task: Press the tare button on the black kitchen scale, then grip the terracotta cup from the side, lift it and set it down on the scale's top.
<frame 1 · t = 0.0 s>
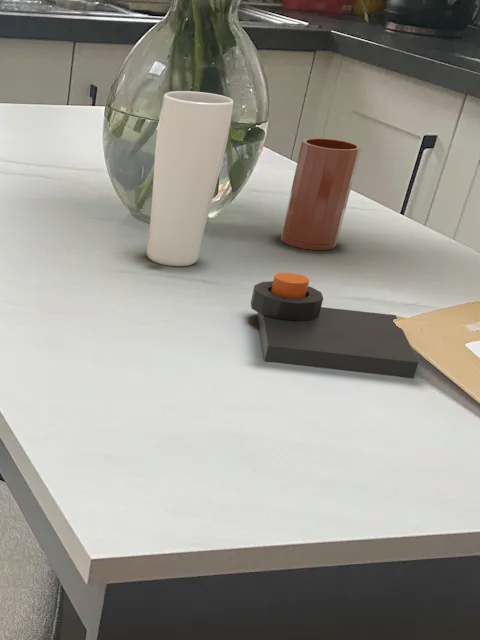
tare button: (289, 286, 94), point 3 cm above the countertop, slide at 0.1 cm
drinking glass: (171, 262, 110), on the countertop
cup: (308, 242, 119), on the countertop
scale: (330, 345, 92), on the countertop
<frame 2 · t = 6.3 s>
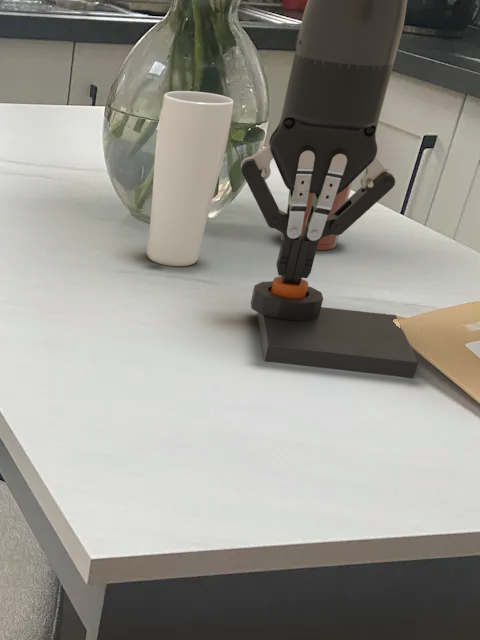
hand: (290, 281, 93), 4 cm above the countertop, tool pointing down, fingers closed
tare button: (289, 290, 94), point 3 cm above the countertop, slide at -0.2 cm, touching gripper
everything else where it was.
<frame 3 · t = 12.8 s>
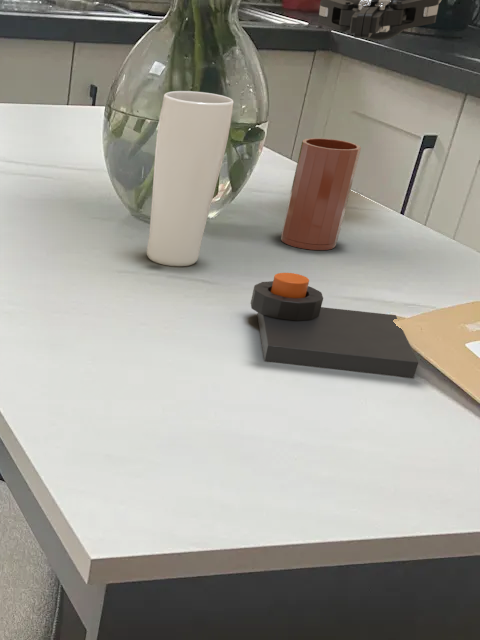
hand: (363, 26, 110), 20 cm above the countertop, tool horizontal, fingers closed
tare button: (289, 286, 94), point 3 cm above the countertop, slide at 0.1 cm
everything else where it was.
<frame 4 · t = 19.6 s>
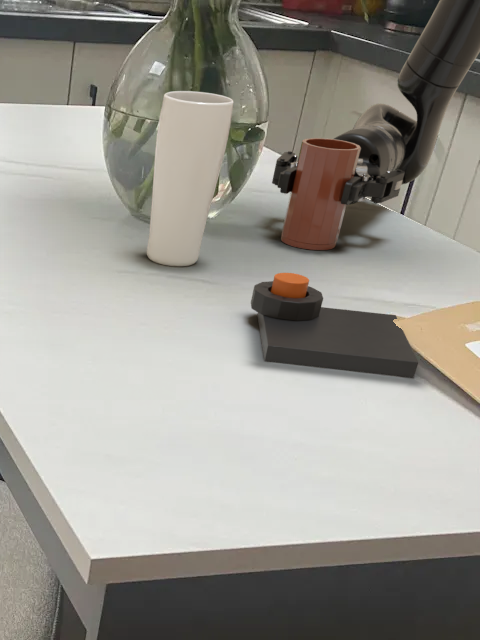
hand: (315, 188, 114), 6 cm above the countertop, tool horizontal, fingers closed on cup, 6 cm apart
cup: (308, 242, 119), on the countertop, touching gripper
everything else where it was.
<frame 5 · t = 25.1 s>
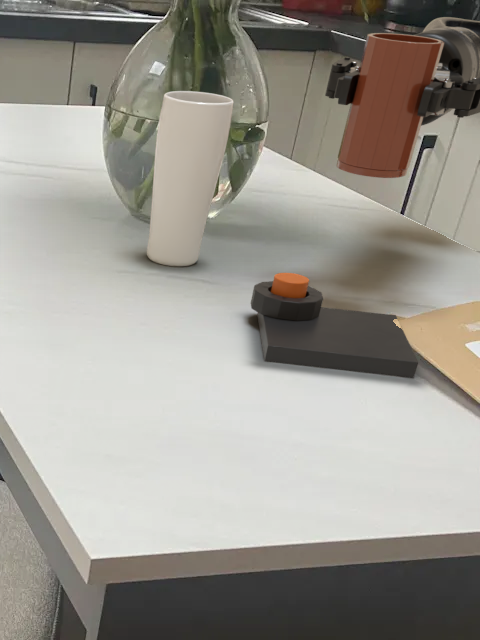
hand: (384, 96, 88), 18 cm above the countertop, tool horizontal, fingers closed on cup, 6 cm apart
cup: (371, 170, 94), point 12 cm above the countertop, touching gripper
everything else where it was.
when the fingers open (7 cm above the countertop, at t = 30.4 s): cup stays where it is, resting on scale.
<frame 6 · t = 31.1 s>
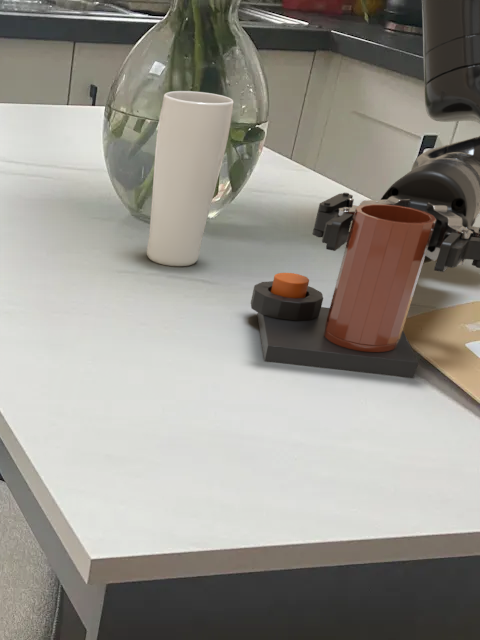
hand: (386, 247, 83), 9 cm above the countertop, tool horizontal, fingers open, 8 cm apart
cup: (360, 339, 90), point 1 cm above the countertop, touching scale
everything else where it was.
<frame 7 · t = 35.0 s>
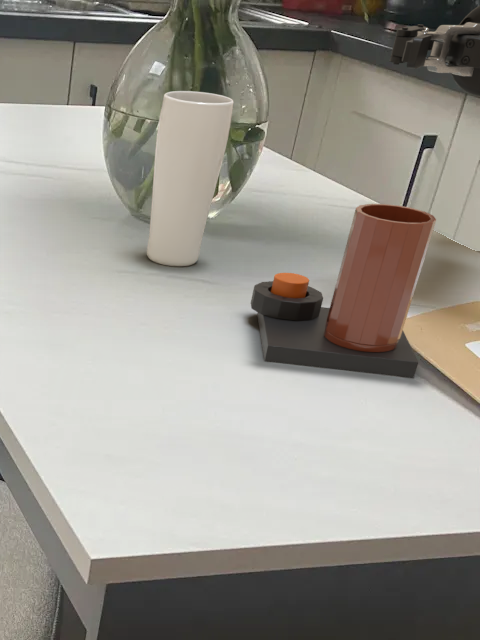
hand: (468, 59, 85), 21 cm above the countertop, tool horizontal, fingers open, 8 cm apart
nothing on the countertop moved.
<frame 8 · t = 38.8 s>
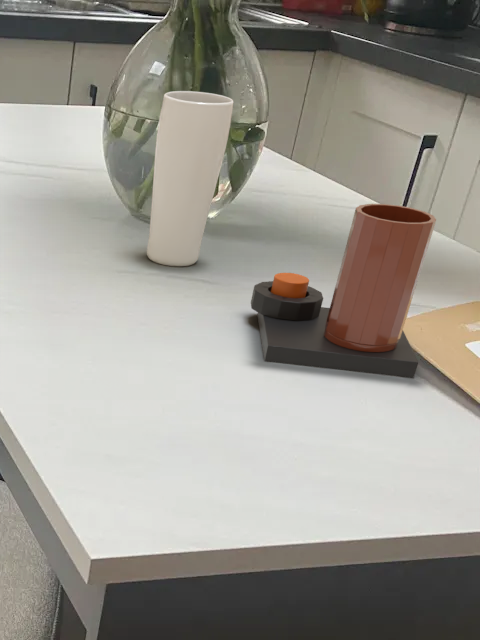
nothing on the countertop moved.
at the end: tare button pushed in 0.9 cm at the most during the clip, back to where it started at the end; cup inside the target area on the scale (2.7 cm from its centre), point 1.4 cm above the scale's base; cup tilted 0° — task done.
